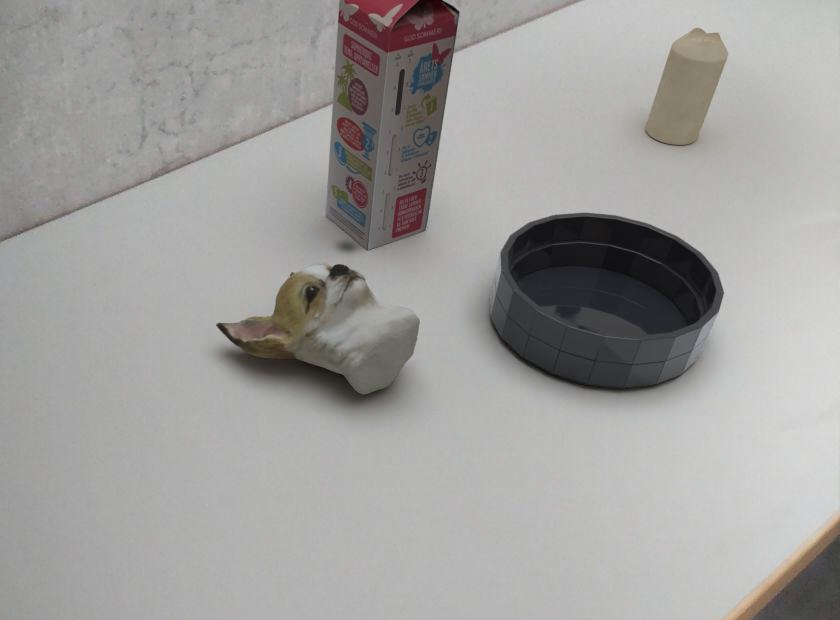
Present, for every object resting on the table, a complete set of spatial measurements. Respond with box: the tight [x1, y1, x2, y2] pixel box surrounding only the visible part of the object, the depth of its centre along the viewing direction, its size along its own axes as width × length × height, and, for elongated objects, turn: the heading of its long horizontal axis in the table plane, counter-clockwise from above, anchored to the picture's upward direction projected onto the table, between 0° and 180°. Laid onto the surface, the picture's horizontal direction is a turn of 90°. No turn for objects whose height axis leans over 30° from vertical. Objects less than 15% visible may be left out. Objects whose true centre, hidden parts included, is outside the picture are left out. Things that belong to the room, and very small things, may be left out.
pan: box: [489, 212, 725, 389], centre depth 76 cm, size 17×17×5 cm
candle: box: [645, 27, 729, 146], centre depth 97 cm, size 6×6×10 cm
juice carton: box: [325, 0, 461, 251], centre depth 79 cm, size 7×7×22 cm
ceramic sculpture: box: [215, 263, 421, 396], centre depth 71 cm, size 11×9×15 cm
